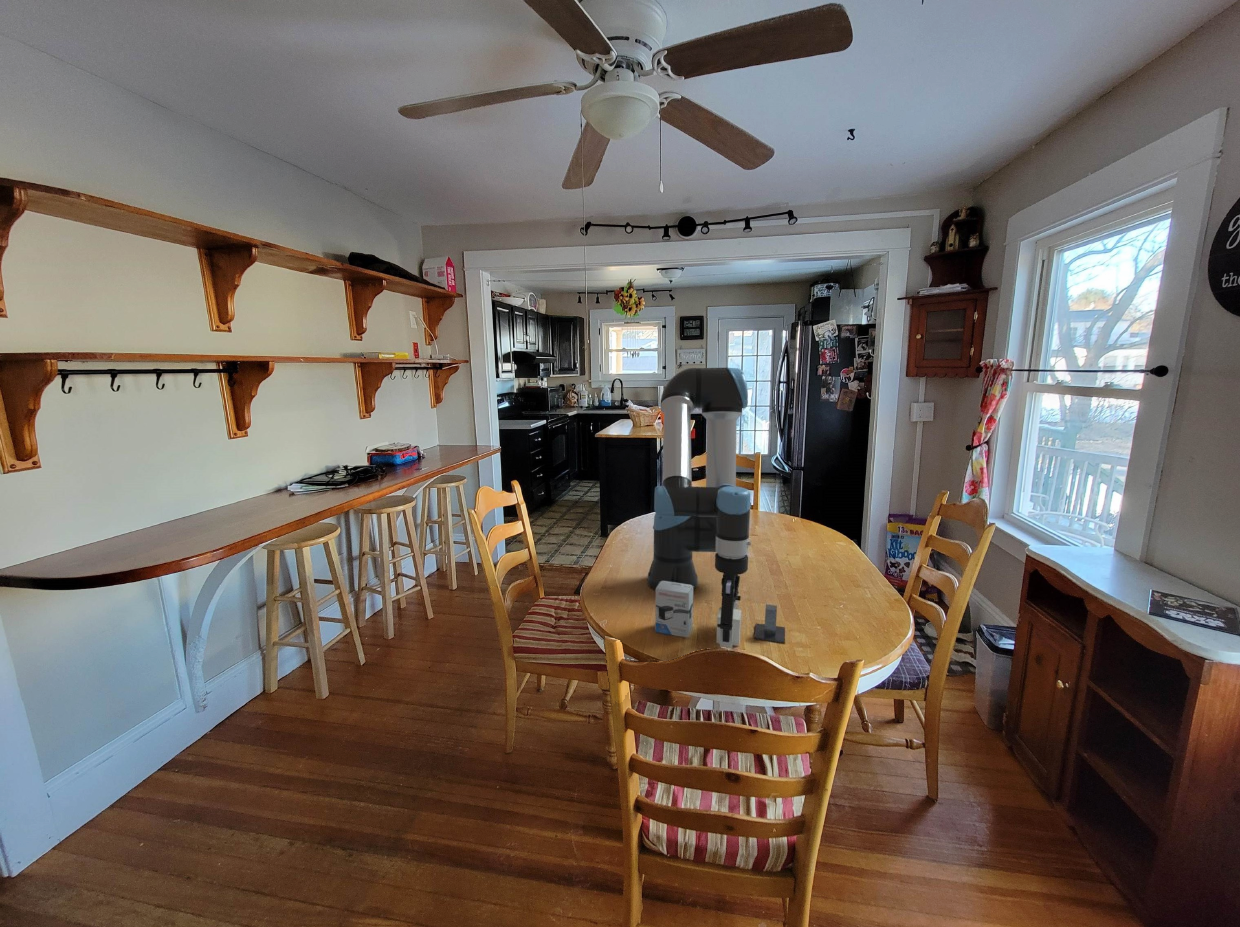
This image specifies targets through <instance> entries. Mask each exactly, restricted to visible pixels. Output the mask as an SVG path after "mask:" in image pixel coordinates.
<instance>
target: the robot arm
mask: <svg viewBox="0 0 1240 927" xmlns="http://www.w3.org/2000/svg"><path fill="white" fill-rule="evenodd" d="M748 391H749V390H748V383H747V378H746V375H745V373H744V371H743V370H742V369H740V368H738V367H737V368H736V367H729V366H727V367H690V368H689V367H688V368H686V369H683V370H681V371H678V373H676V374H675V375H674V376H673V377H672V378H670V380H669V381H668V382H667V384H666V385H665V387H664V389H663V391H662V394H661V398H660V403H659V404H660V407H659V408H660V412H661V413H662V414H663V428H662V429H663V435H662V439H663V440H662V443H663V444H662V480H661V481H662V483H661V484H662V485H657V486H655V487H654V497H653V498H654V499H653V500H654V502H653V504H654V506H653V507H654V509H653V510H654V513H655V514H654V517H653V525H652V528H653V559H652V562H651V564H650V568H649V571H648V574H647V584H648V586H649V587H650V588H651V589H653V590H655V591H656V587H657V586H658V584H659V583H660V582H661V581H669V582H675V583H682V584H689V585H692V586H694V587H693V590H695V589H697V587H698V585H699V584H698V582H699V579H698V574H697V572H696V568H695V565H694V564H695V563H694V562H693V552H694V553H715V555H714V568H715V570H717V572H719V573H721V574H722V577H721V580H720V581H721V606H720V607H721V620H720V624H717V623H716V628H717V627H720V643H719V648H720V647H726V648H731V649H732V650H733V645H732V640H733V625H732V621H733V609H737V610H738V604H739V601H741V599H742V598H741V595H739V593H740V591H739V587H740V582H741V576H740V575H743V574H746V573H747V571H748V569H749V555H748V554H749V546H750V547H751V546H752V541H751V540H750V539H749V538H750V523H751V522H750V521H751V520H750V519H751V517H750V516H751V508H752V502H751V492H750V490H749V489H747V488H744V487H741V486H737V485H736V482H737V481H736V480H737V476H736V475H737V426H738V425H737V420H738V419H739V418H740V417H741V416H742V415H743V409H746V408H747V407H748V404H749V392H748ZM694 409H701V415H702V416H703V417H704V418H705V419H706V460H705V461H706V463H705V464H706V465H705V466H706V467H705V469H706V470H705V471H706V473H705V475H706V476H705V486H693V485H692V482H693V481H692V434H691V433H692V432H691V431H692V430H691V429H692V428H691V426H692V425H691V423H692V422H691V414H693V412H694Z"/></svg>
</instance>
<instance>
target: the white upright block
mask: <svg viewBox="0 0 1240 927" xmlns="http://www.w3.org/2000/svg"><path fill="white" fill-rule="evenodd" d="M720 620H721V606H719V608H718V612H717V617H716V625H717V624H720ZM732 625H733V640H732V646H736V647H739V646H740V642H741V631H742V609H738V608H737V609H733V621H732ZM715 643H716V644H720V627H717V626H716V642H715Z"/></svg>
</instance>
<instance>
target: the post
mask: <svg viewBox="0 0 1240 927" xmlns="http://www.w3.org/2000/svg"><path fill="white" fill-rule="evenodd" d="M764 614H765V616H764V624H763V623H759V622H758V623H756V622H755V629H754V638H753V639H754V640H760V641H767V642H773V643H780V644H786V627H785V626H778V625H777V614H778V605H776V604H775V605H774V604H767V603H766V604H765V613H764Z"/></svg>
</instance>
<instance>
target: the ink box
mask: <svg viewBox="0 0 1240 927" xmlns="http://www.w3.org/2000/svg"><path fill="white" fill-rule="evenodd" d="M693 587H694V586H692V585H689V584H682V583H675V582H669V581H661V582H660V583H659V584H658V586H657V587H656V590H655V607H654V608H655V612H654V613H655V621H654V622H655V624H654V626H655V627H654V630H655V631H654V632H655V633H658V634H664V635H668V636H669V635H671V636H675V637H681V638H689V636H690V634H691V633H692V631H693V623H694V622H693V617H694V616H693V613H694V609H693V608H694V589H693Z"/></svg>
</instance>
